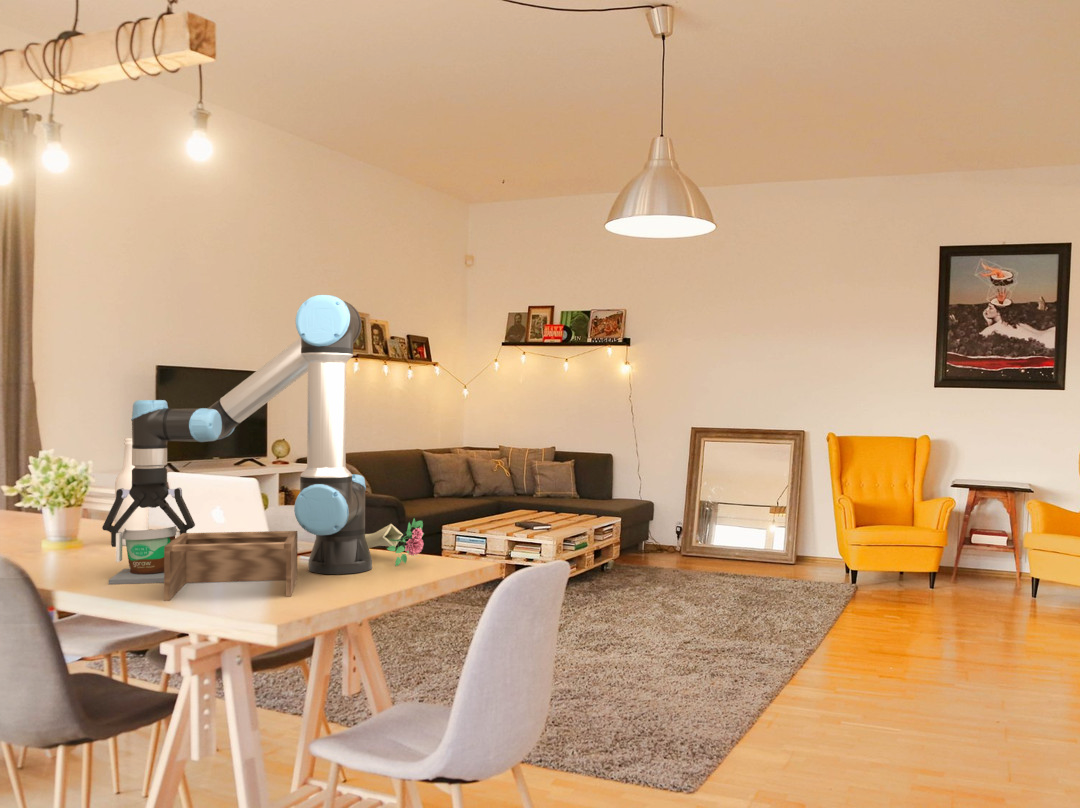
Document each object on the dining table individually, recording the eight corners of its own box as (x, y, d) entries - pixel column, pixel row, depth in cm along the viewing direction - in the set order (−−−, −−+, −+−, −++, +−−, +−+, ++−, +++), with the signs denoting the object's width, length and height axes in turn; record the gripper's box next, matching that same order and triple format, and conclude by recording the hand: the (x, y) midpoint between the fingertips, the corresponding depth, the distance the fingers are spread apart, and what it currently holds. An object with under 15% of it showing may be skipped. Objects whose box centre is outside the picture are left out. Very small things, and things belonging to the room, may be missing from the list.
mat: (186, 571, 224) (186, 567, 224) (175, 582, 210) (175, 577, 210) (124, 573, 221) (124, 568, 221) (108, 584, 207) (108, 579, 207)
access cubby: (297, 578, 215) (297, 530, 215) (291, 596, 195) (291, 543, 195) (182, 582, 210) (182, 533, 210) (164, 600, 191) (164, 546, 190)
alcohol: (123, 541, 271) (123, 437, 271) (153, 541, 271) (154, 437, 271) (109, 546, 262) (109, 438, 262) (140, 546, 262) (140, 438, 262)
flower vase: (369, 579, 254) (444, 568, 229) (329, 571, 247) (402, 557, 221) (375, 537, 258) (450, 520, 233) (336, 527, 251) (409, 509, 226)
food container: (116, 576, 212) (114, 531, 212) (124, 571, 218) (122, 528, 218) (172, 573, 213) (171, 529, 213) (179, 568, 219) (178, 525, 219)
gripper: (207, 465, 221) (207, 556, 221) (97, 466, 217) (96, 559, 217) (202, 467, 214) (202, 561, 214) (87, 468, 209) (87, 564, 209)
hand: (149, 560), depth 215 cm, fingers open, 12 cm apart
